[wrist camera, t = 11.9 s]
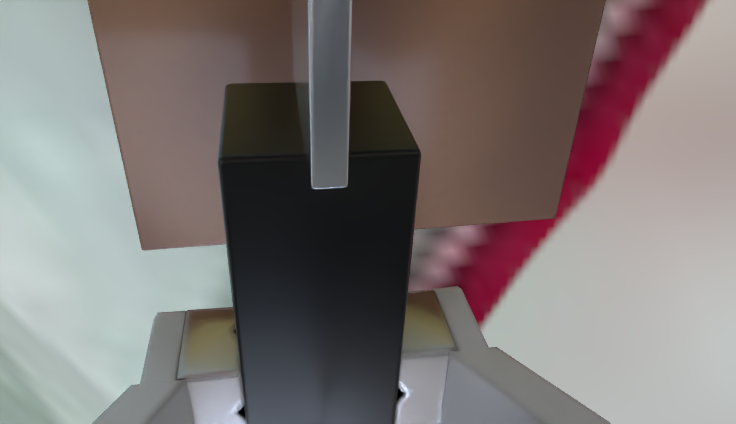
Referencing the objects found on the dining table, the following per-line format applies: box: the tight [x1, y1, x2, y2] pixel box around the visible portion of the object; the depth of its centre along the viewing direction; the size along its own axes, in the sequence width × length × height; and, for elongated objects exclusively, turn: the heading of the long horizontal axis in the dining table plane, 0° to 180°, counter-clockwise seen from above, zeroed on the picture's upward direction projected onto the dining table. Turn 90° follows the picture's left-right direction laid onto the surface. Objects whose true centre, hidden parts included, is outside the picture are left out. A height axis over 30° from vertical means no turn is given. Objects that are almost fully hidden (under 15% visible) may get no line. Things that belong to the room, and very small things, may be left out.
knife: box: [217, 0, 421, 424], centre depth 8 cm, size 2×17×3 cm, turn 178°
